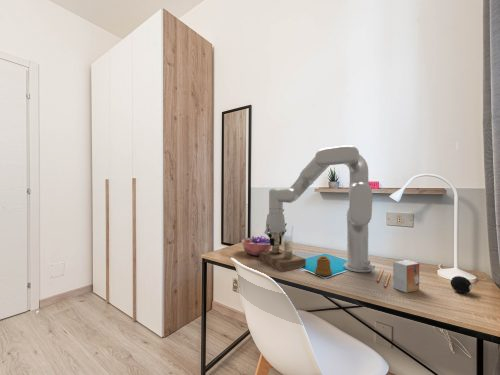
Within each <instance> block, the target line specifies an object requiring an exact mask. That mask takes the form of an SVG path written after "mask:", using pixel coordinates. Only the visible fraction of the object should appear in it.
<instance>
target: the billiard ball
mask: <svg viewBox="0 0 500 375" xmlns="http://www.w3.org/2000/svg"><path fill="white" fill-rule="evenodd" d="M450 286H451V288H452V289H453V290H454V291H455V292H457V293H460V294H469V293H470V292H471V290H472V288H473V287H472V286H473V285H472V283H471V281H470V280H469V279H468V278H467V277H464V276H460V275H456V276H453V277H452V278H451V280H450Z"/></svg>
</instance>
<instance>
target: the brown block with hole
mask: <svg viewBox="0 0 500 375" xmlns="http://www.w3.org/2000/svg"><path fill="white" fill-rule="evenodd" d="M258 260H260V261H261V262H263V263H265V264H268V265H270V266H272V267H273V268H275V269H277V270H279V271H281V272H289V271H292V270H298V269H301V268H300V267H302V266H306V263H307V262H306V261H307V260H306V258H304V257H301V256H299V255H295V254H293V242H292V241H284V250H283V249H280V248H279V252H272V249H270V251H264V252H259V255H258Z"/></svg>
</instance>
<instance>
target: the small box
mask: <svg viewBox="0 0 500 375" xmlns="http://www.w3.org/2000/svg"><path fill="white" fill-rule="evenodd" d="M392 268H393V269H392V288H393V289H395V290H397V291H398V290H399V291H401V292H404V293H411V292H415V291H419V290H420V263H419V262H416V261H413V260H408V259H403V260H398V261H393V262H392Z"/></svg>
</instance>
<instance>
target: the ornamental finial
mask: <svg viewBox="0 0 500 375" xmlns="http://www.w3.org/2000/svg"><path fill="white" fill-rule="evenodd" d="M316 259H317V260H316V267H315V270H314V271H315V274H317V275H318V274H319V275H318V276H321V275H324V276H323V277H330V276H331V275H332V274H333V270H332V269H331V260H330V258H328V257H327V255H320V256H319V257H318V258H316Z"/></svg>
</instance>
